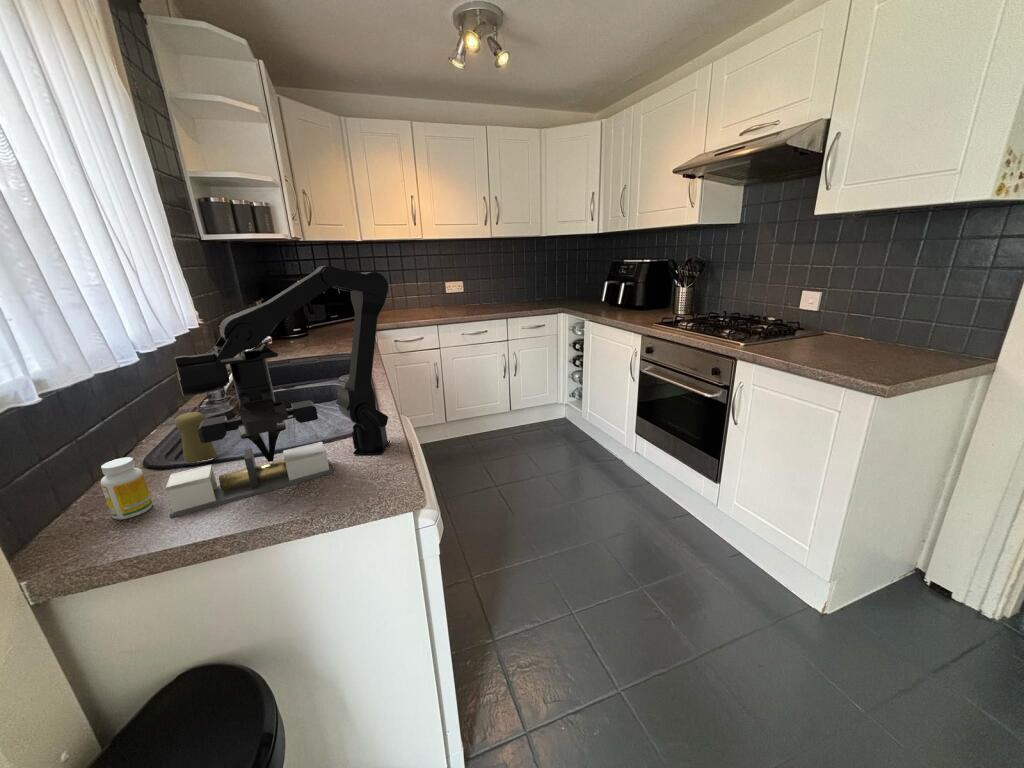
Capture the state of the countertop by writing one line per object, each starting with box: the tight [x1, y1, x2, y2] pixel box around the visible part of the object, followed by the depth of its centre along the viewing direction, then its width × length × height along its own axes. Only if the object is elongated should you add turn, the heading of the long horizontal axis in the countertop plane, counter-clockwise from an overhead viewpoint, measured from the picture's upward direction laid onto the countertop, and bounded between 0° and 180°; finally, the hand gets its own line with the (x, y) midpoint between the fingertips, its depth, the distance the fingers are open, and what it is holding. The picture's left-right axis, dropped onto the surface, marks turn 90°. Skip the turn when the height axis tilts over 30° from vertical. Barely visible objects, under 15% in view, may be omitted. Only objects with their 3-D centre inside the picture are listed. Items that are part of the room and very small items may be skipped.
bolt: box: [218, 447, 288, 491], centre depth 78 cm, size 17×5×6 cm, turn 122°
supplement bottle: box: [100, 456, 153, 520], centre depth 70 cm, size 5×5×10 cm
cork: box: [174, 411, 218, 463], centre depth 89 cm, size 6×6×11 cm
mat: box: [168, 461, 333, 519], centre depth 78 cm, size 26×7×1 cm, turn 122°
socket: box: [165, 464, 219, 512], centre depth 72 cm, size 6×6×5 cm
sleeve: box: [282, 441, 329, 480], centre depth 82 cm, size 7×5×4 cm
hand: (270, 460), depth 78 cm, fingers closed
